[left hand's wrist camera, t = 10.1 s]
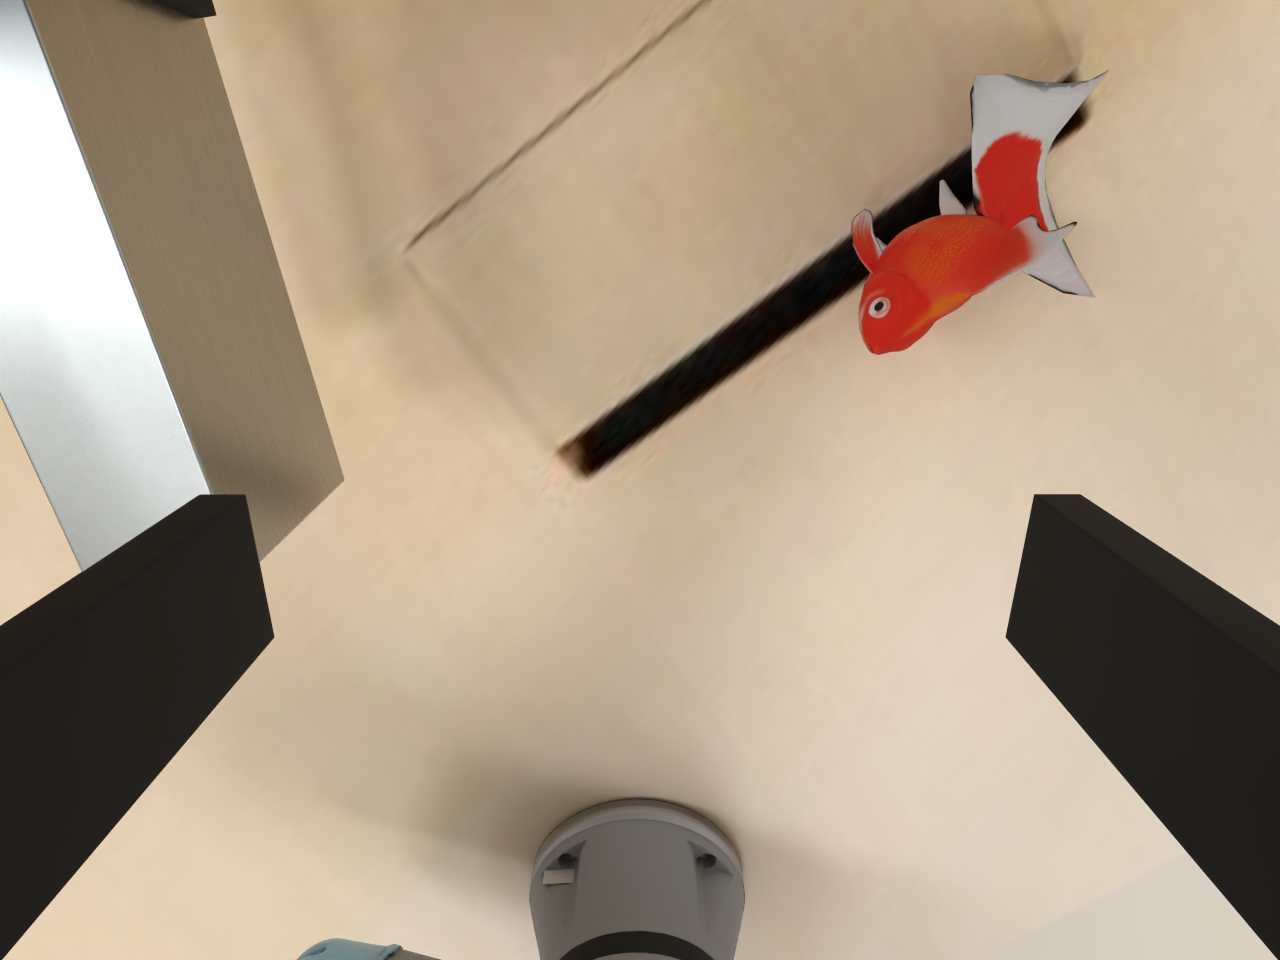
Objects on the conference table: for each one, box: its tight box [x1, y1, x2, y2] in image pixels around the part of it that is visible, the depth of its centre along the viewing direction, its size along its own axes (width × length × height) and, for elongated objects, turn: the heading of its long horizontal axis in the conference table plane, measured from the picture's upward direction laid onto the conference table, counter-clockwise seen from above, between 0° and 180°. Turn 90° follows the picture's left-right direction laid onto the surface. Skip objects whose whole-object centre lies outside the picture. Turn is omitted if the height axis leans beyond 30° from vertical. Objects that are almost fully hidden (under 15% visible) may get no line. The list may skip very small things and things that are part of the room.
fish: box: [851, 70, 1109, 355], centre depth 34 cm, size 11×16×10 cm
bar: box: [0, 0, 344, 572], centre depth 23 cm, size 22×5×9 cm, turn 8°
